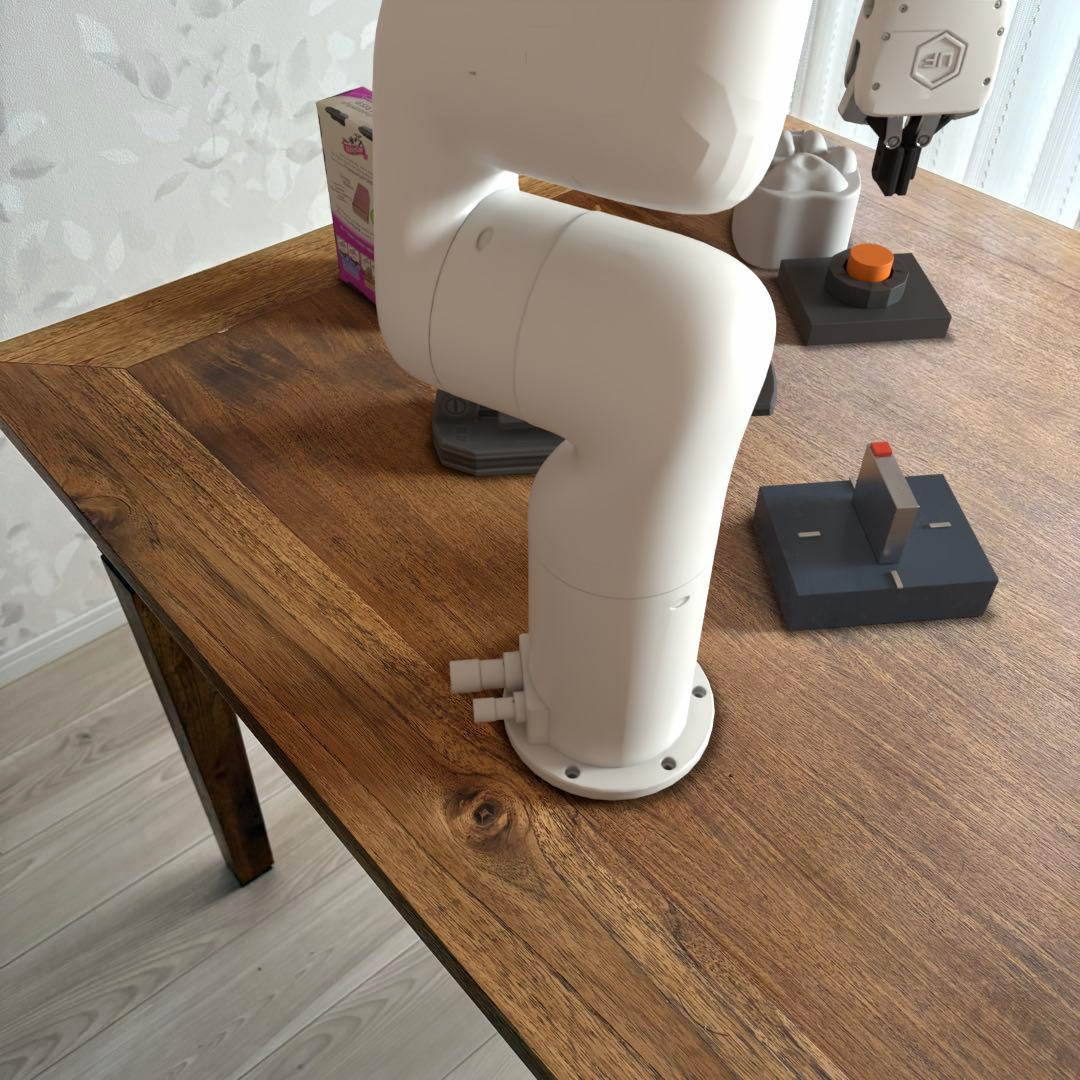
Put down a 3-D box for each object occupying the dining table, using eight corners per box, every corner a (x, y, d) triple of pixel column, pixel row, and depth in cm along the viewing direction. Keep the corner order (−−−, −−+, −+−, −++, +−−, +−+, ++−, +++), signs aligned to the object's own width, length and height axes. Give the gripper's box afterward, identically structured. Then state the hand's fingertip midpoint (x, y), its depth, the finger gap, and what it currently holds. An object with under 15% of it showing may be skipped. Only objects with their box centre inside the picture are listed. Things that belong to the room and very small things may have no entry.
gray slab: (899, 563, 71) (920, 503, 67) (878, 564, 71) (897, 505, 67) (871, 498, 75) (888, 439, 71) (850, 499, 75) (867, 440, 71)
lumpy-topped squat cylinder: (737, 268, 101) (751, 180, 95) (726, 197, 110) (737, 112, 104) (852, 271, 101) (873, 182, 95) (831, 199, 110) (849, 114, 104)
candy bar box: (458, 311, 96) (447, 129, 84) (411, 334, 94) (394, 149, 82) (383, 259, 102) (363, 81, 90) (337, 278, 100) (311, 99, 88)
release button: (853, 285, 93) (857, 267, 92) (840, 262, 95) (844, 244, 94) (895, 283, 93) (899, 265, 92) (881, 260, 96) (885, 242, 94)
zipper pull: (785, 410, 76) (423, 404, 77) (770, 481, 81) (429, 475, 82) (769, 334, 83) (434, 328, 83) (756, 404, 87) (439, 398, 88)
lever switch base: (788, 632, 71) (798, 594, 69) (751, 521, 78) (759, 483, 76) (984, 617, 72) (1001, 579, 70) (929, 508, 79) (943, 470, 77)
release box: (806, 346, 93) (815, 306, 90) (776, 280, 100) (784, 241, 97) (945, 338, 94) (958, 298, 91) (906, 273, 101) (917, 234, 98)
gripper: (860, -36, 72) (810, 217, 86) (1079, -45, 74) (997, 206, 87) (827, -75, 78) (785, 169, 91) (1033, -83, 79) (962, 160, 92)
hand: (889, 187), depth 89 cm, fingers closed
